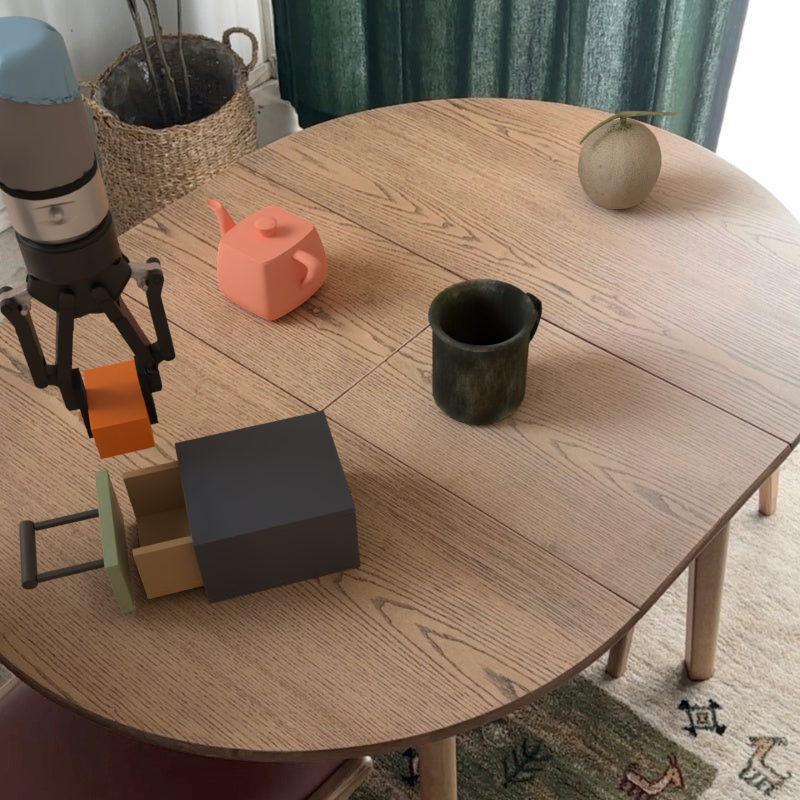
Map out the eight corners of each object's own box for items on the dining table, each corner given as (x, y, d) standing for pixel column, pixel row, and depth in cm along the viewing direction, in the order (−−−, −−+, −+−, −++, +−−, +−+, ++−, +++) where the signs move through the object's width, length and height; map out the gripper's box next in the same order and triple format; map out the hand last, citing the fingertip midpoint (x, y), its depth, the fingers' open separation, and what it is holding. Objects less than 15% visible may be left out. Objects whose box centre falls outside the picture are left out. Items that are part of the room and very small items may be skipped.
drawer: (36, 635, 96) (13, 589, 91) (31, 537, 104) (10, 490, 98) (266, 578, 100) (257, 531, 94) (245, 488, 107) (235, 440, 102)
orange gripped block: (100, 459, 97) (90, 430, 94) (92, 400, 102) (82, 370, 100) (155, 447, 98) (147, 417, 95) (144, 388, 103) (136, 358, 100)
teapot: (293, 343, 123) (283, 274, 116) (186, 284, 132) (171, 215, 124) (356, 292, 130) (351, 223, 122) (251, 238, 138) (240, 170, 130)
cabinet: (209, 604, 99) (193, 545, 92) (190, 502, 107) (174, 442, 101) (360, 566, 101) (355, 507, 95) (330, 470, 110) (323, 410, 103)
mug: (407, 394, 117) (405, 312, 109) (498, 332, 124) (503, 250, 115) (478, 447, 112) (482, 365, 103) (569, 378, 118) (579, 296, 110)
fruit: (556, 187, 144) (566, 87, 133) (634, 173, 146) (650, 73, 135) (585, 232, 137) (598, 130, 126) (667, 216, 139) (687, 115, 128)
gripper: (-57, 269, 79) (27, 472, 96) (183, 224, 83) (224, 427, 99) (-58, 213, 84) (22, 414, 101) (169, 172, 88) (210, 373, 104)
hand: (122, 420), depth 100 cm, fingers closed on orange gripped block, 5 cm apart
